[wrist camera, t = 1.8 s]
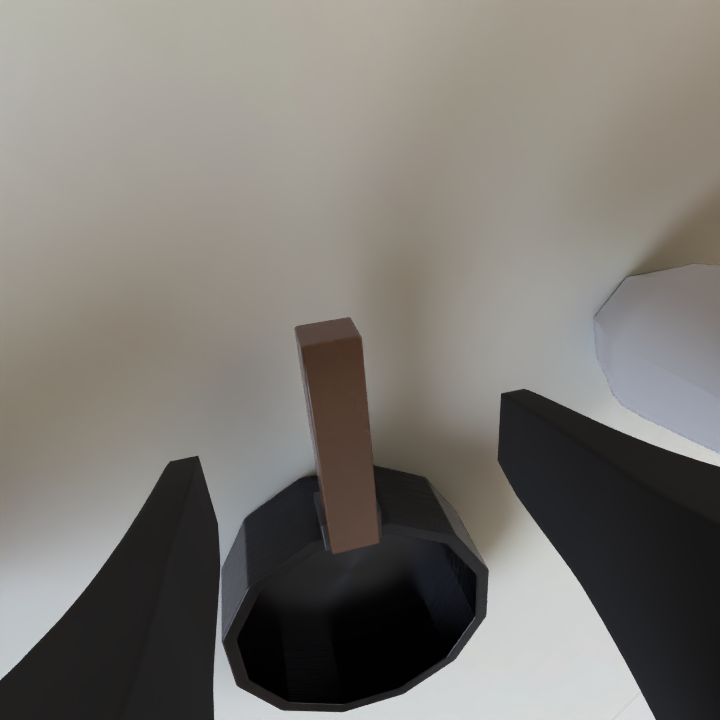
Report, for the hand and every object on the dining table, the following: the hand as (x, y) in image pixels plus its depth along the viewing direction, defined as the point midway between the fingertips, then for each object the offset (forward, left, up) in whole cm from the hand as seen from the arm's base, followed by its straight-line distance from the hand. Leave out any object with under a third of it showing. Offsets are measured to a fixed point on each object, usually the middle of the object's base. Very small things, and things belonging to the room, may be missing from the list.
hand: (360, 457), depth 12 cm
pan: (0, -7, -6) cm, 9 cm away
